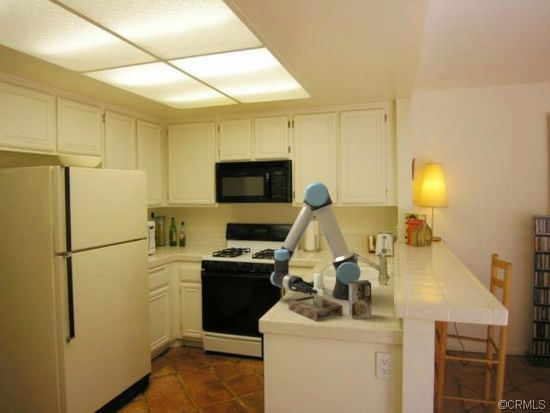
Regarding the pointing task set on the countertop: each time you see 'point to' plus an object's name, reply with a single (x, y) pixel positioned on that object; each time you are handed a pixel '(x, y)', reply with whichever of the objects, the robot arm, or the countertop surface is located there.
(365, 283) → the coffee box
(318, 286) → the cream rod gray base
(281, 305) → the countertop surface
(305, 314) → the brown square frame
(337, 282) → the robot arm
